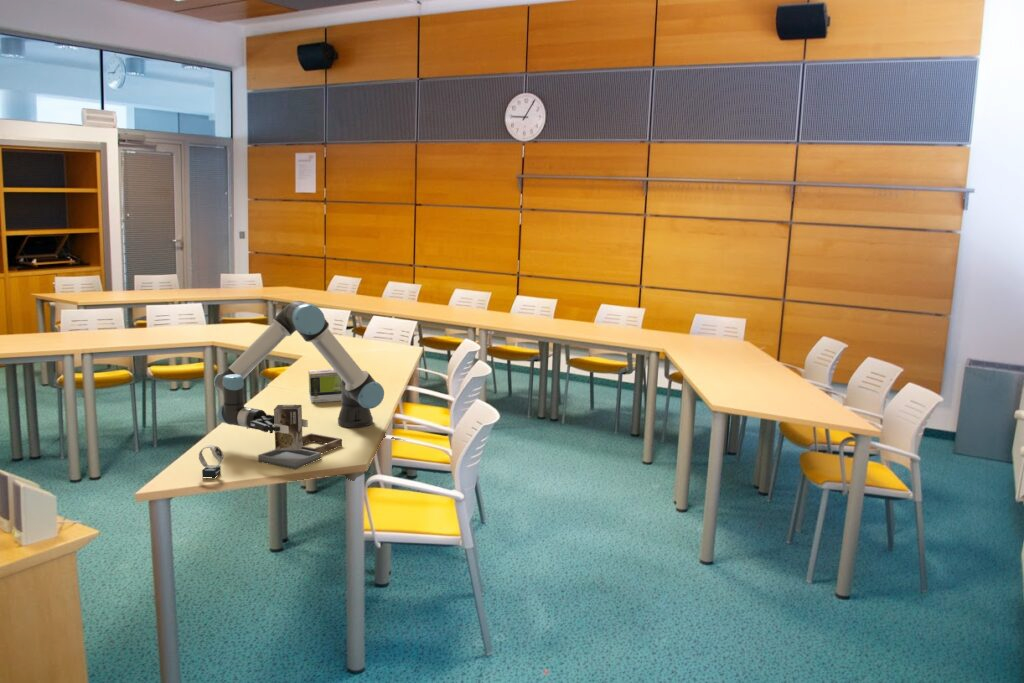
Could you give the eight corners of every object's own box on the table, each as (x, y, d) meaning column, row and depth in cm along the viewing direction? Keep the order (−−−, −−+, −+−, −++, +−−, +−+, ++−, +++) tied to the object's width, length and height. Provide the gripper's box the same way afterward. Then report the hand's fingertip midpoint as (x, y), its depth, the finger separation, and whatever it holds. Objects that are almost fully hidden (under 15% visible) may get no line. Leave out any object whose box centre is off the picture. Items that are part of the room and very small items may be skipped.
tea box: (339, 396, 398) (339, 368, 396) (342, 401, 389) (341, 372, 387) (309, 398, 394) (308, 369, 391) (310, 403, 384) (309, 373, 382)
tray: (285, 451, 307) (284, 445, 307) (321, 459, 299) (321, 452, 299) (258, 461, 295) (258, 455, 294) (295, 469, 287) (295, 462, 286)
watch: (220, 479, 275) (219, 448, 274) (197, 478, 275) (195, 448, 274) (226, 473, 281) (224, 443, 279) (203, 473, 281) (202, 443, 279)
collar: (310, 440, 323) (310, 433, 322) (341, 446, 316) (341, 438, 315) (283, 450, 309) (282, 443, 308) (314, 456, 302) (314, 449, 301)
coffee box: (303, 446, 299) (302, 404, 297) (299, 451, 293) (298, 408, 290) (279, 445, 299) (277, 404, 296) (274, 450, 293) (273, 408, 290)
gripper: (274, 421, 313) (318, 429, 303) (230, 434, 294) (276, 443, 283) (273, 403, 312) (317, 410, 302) (230, 415, 292) (275, 423, 282)
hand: (297, 426), depth 293 cm, fingers closed on coffee box, 9 cm apart
